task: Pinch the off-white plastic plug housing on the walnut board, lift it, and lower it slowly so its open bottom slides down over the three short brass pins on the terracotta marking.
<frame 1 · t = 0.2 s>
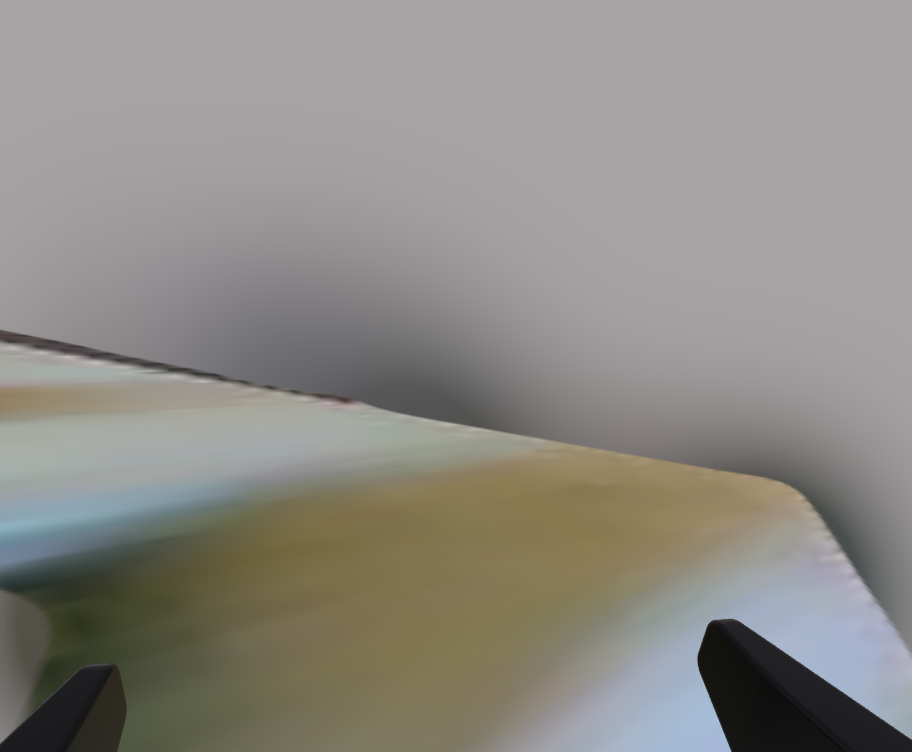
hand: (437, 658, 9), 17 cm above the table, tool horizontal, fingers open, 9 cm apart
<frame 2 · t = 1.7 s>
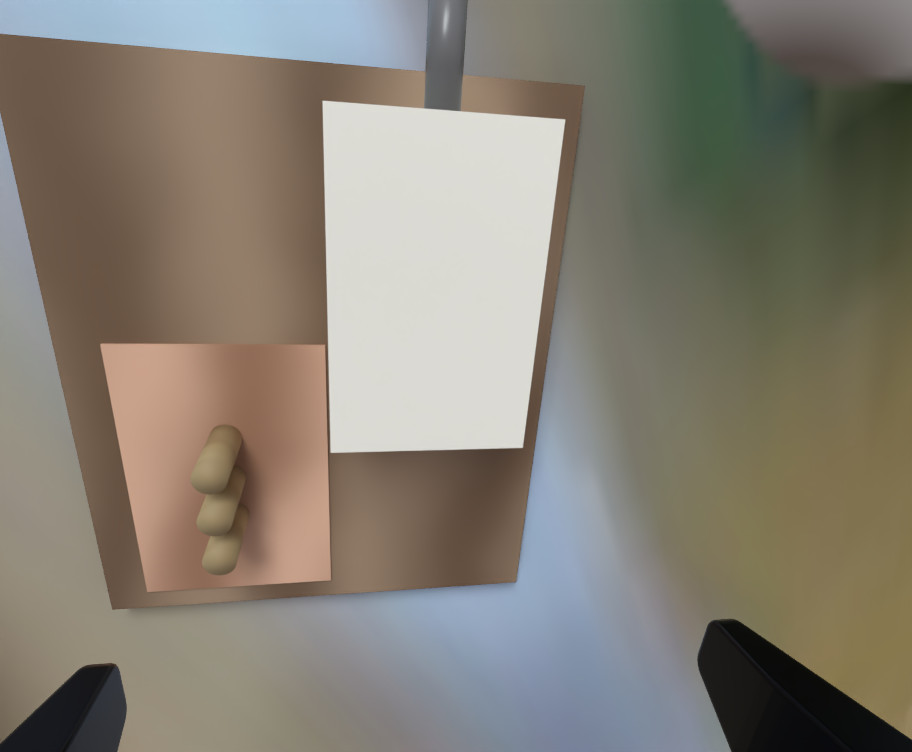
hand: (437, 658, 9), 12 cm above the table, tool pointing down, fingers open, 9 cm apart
plug housing: (418, 258, 17), point 1 cm above the table, touching mounting board
mounting board: (320, 370, 19), on the table
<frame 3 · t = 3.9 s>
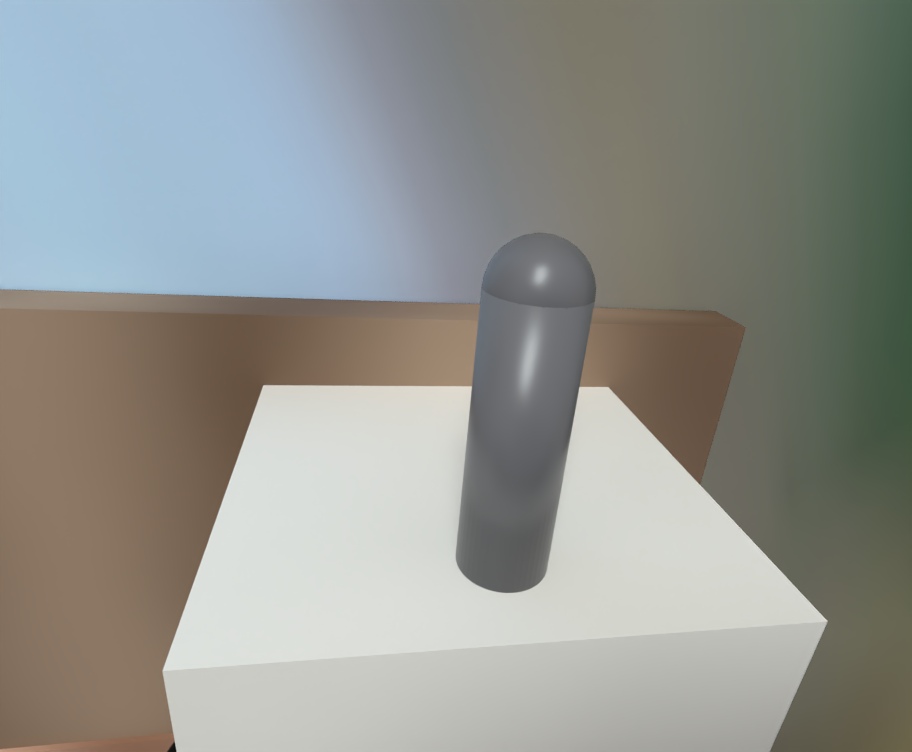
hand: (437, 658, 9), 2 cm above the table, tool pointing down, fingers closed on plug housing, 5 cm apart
plug housing: (428, 598, 10), point 1 cm above the table, touching gripper, mounting board
mounting board: (265, 728, 12), on the table
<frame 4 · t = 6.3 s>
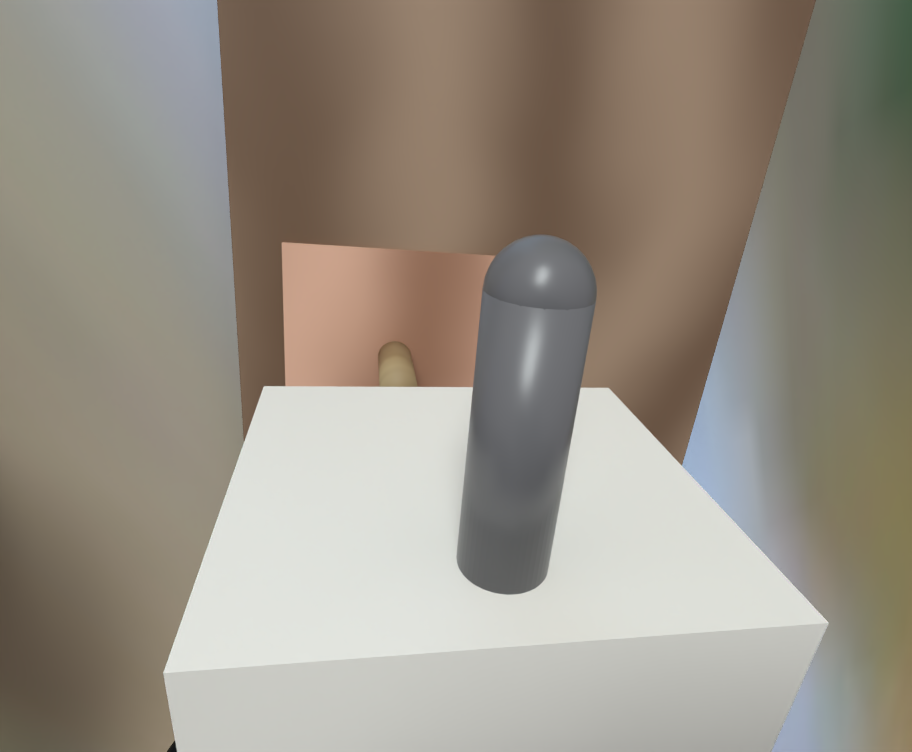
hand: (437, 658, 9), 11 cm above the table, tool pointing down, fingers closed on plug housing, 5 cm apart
plug housing: (429, 599, 10), point 10 cm above the table, touching gripper
mounting board: (493, 289, 18), on the table
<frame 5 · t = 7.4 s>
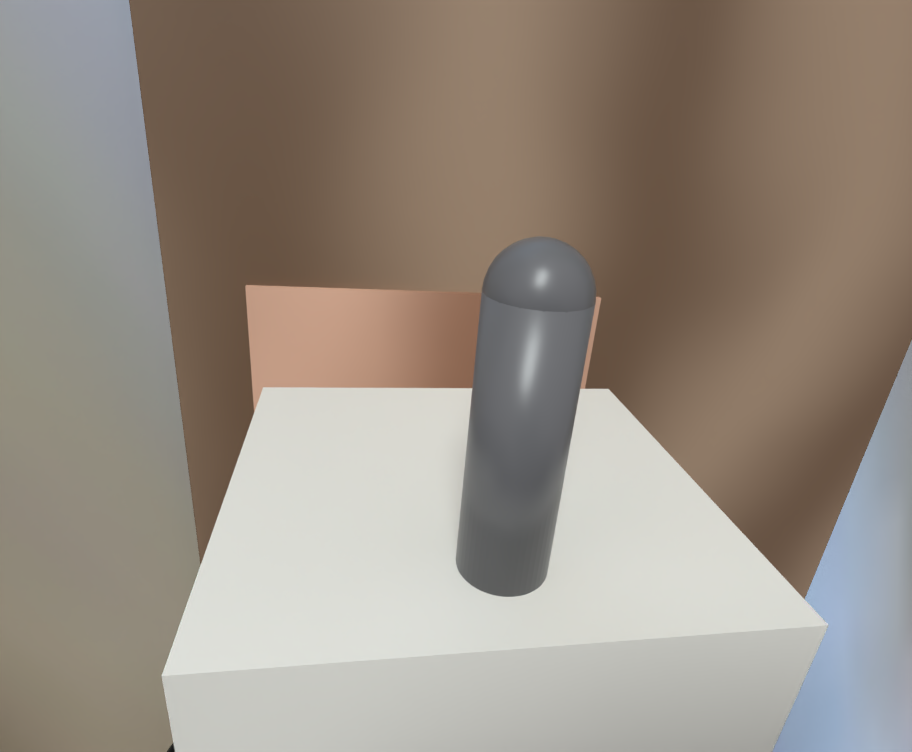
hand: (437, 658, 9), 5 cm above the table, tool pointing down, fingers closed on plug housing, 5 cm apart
plug housing: (428, 600, 10), point 3 cm above the table, touching gripper
mounting board: (565, 341, 12), on the table
when the fingers open (3 cm above the table, at t = 8.5 s): plug housing stays where it is, resting on mounting board.
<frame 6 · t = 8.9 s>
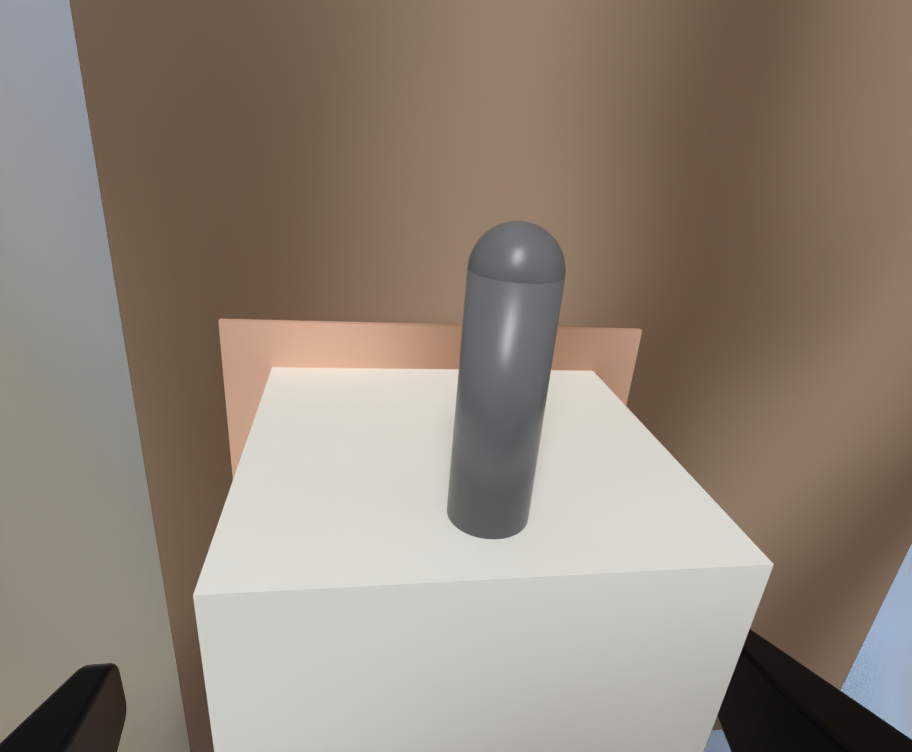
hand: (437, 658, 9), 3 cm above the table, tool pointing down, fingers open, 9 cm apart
plug housing: (425, 571, 10), point 1 cm above the table, touching mounting board
mounting board: (596, 376, 10), on the table
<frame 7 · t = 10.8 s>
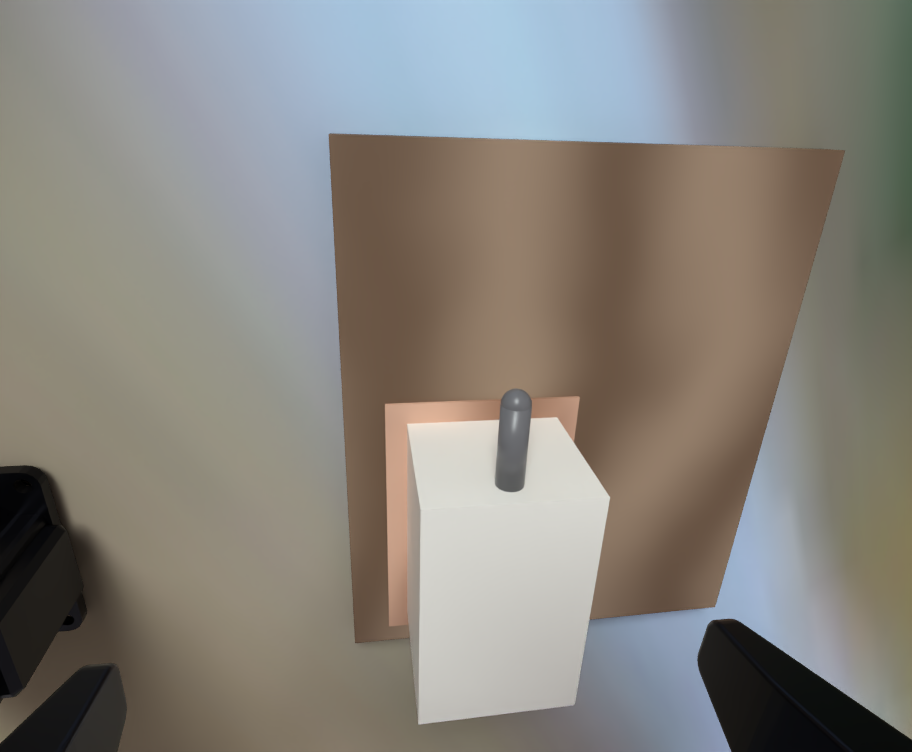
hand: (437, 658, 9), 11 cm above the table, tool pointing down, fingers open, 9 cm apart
plug housing: (477, 519, 20), point 1 cm above the table, touching mounting board
mounting board: (561, 417, 20), on the table
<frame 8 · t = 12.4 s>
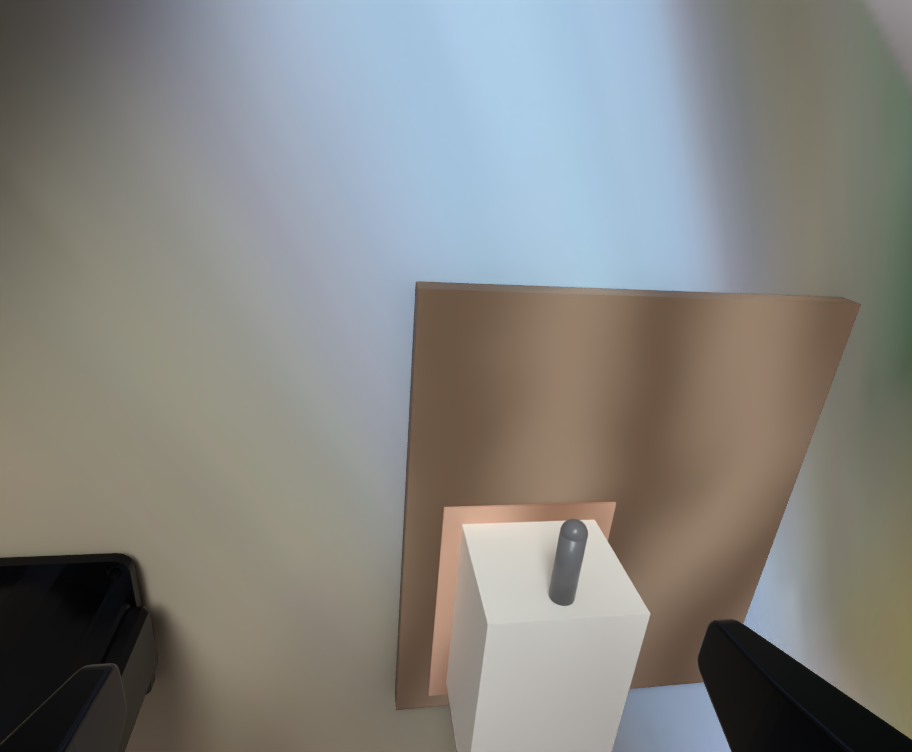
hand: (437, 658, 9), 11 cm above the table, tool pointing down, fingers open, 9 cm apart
plug housing: (516, 605, 22), point 1 cm above the table, touching mounting board
mounting board: (596, 515, 22), on the table
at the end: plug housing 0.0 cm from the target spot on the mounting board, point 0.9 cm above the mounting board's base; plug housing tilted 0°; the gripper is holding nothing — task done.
